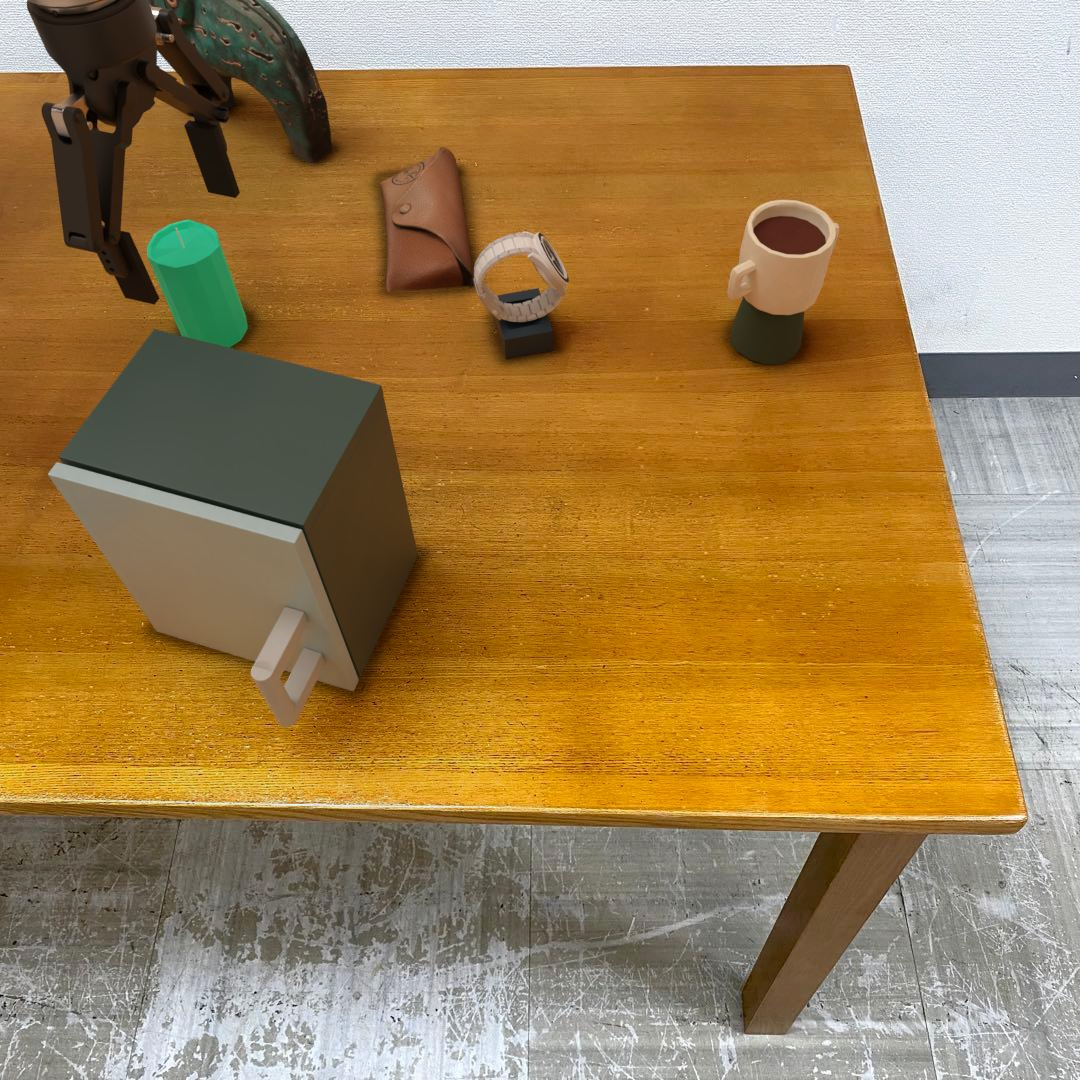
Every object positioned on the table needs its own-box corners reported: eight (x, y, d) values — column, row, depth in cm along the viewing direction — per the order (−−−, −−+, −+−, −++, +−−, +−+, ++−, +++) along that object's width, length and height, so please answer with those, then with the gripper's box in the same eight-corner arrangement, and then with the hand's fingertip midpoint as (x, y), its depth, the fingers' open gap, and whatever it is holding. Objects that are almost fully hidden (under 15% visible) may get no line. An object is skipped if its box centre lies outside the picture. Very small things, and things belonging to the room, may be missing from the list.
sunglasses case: (373, 177, 104) (399, 124, 100) (436, 200, 108) (463, 149, 103) (385, 299, 94) (414, 246, 90) (453, 320, 98) (485, 270, 93)
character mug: (786, 298, 94) (815, 179, 84) (837, 345, 91) (874, 228, 80) (691, 343, 91) (708, 226, 81) (739, 394, 88) (764, 279, 77)
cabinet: (361, 681, 73) (303, 525, 57) (167, 621, 76) (57, 456, 60) (419, 559, 79) (381, 385, 62) (236, 508, 82) (154, 328, 65)
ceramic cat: (176, 115, 112) (109, -78, 95) (219, 86, 115) (161, -106, 98) (309, 179, 105) (263, -15, 89) (351, 147, 108) (313, -47, 91)
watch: (574, 352, 91) (576, 255, 82) (486, 368, 90) (478, 272, 81) (559, 309, 94) (559, 211, 85) (474, 324, 93) (464, 227, 84)
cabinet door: (324, 760, 70) (251, 621, 54) (121, 695, 73) (-7, 545, 57) (360, 682, 73) (302, 529, 57) (165, 623, 76) (56, 461, 60)
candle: (222, 366, 91) (180, 262, 81) (170, 343, 92) (123, 238, 82) (263, 324, 94) (228, 218, 84) (212, 302, 95) (172, 196, 85)
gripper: (18, 103, 59) (146, 358, 77) (222, -97, 72) (292, 160, 90) (-87, 83, 61) (62, 337, 79) (131, -110, 74) (217, 146, 91)
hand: (185, 243), depth 84 cm, fingers open, 13 cm apart
